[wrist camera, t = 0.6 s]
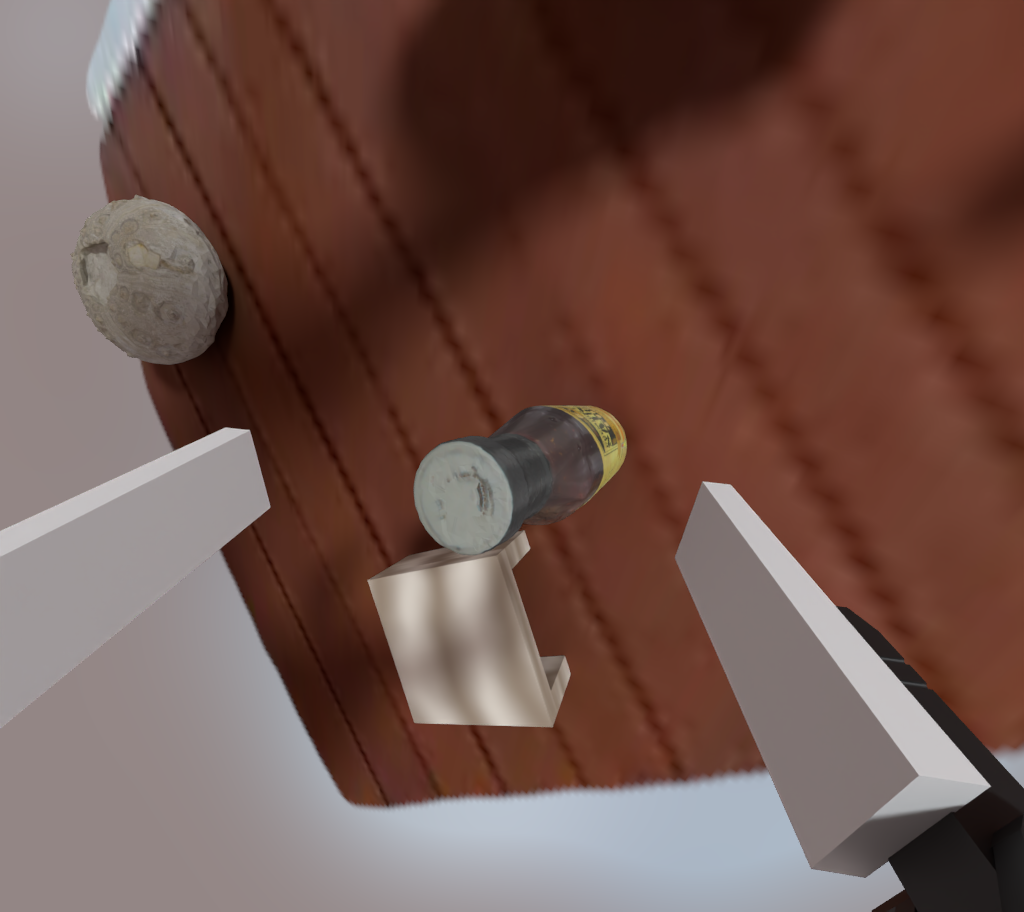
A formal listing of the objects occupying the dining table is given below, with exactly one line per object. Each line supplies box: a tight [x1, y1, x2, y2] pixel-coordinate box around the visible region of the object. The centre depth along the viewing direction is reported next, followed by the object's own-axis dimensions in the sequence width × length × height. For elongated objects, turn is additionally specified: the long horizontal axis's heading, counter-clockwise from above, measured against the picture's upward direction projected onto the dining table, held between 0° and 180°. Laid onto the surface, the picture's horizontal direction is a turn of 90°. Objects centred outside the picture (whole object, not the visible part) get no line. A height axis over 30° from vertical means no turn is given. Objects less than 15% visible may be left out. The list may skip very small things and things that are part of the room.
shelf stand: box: [368, 531, 571, 727], centre depth 34 cm, size 14×14×6 cm
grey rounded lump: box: [71, 195, 229, 365], centre depth 42 cm, size 18×18×10 cm
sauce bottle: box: [414, 406, 627, 555], centre depth 21 cm, size 6×6×20 cm
